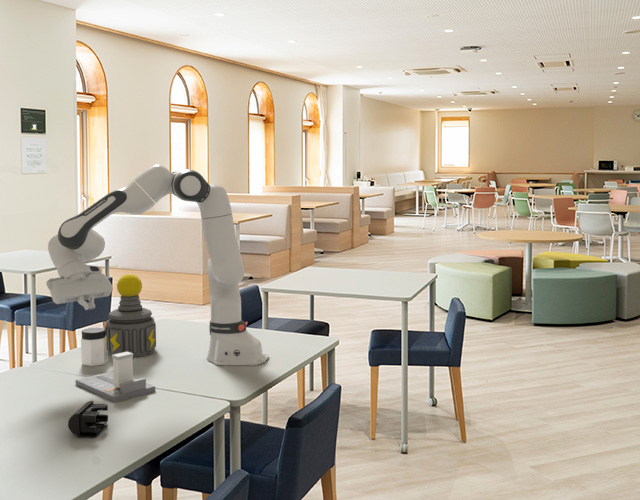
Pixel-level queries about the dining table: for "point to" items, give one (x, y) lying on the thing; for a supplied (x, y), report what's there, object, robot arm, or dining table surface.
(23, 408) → the dining table surface
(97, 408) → the end cap
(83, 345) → the jar
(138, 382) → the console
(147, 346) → the decorative lamp
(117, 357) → the fader tab
